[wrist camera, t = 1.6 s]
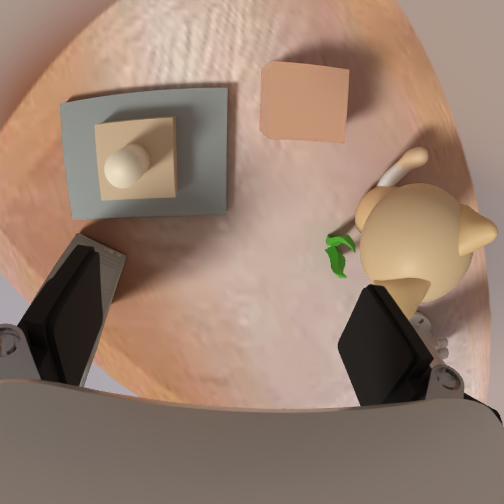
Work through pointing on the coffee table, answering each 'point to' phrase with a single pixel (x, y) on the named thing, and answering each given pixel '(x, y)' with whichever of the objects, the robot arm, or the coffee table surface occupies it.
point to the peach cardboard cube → (303, 102)
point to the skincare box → (108, 273)
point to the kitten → (413, 237)
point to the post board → (191, 152)
